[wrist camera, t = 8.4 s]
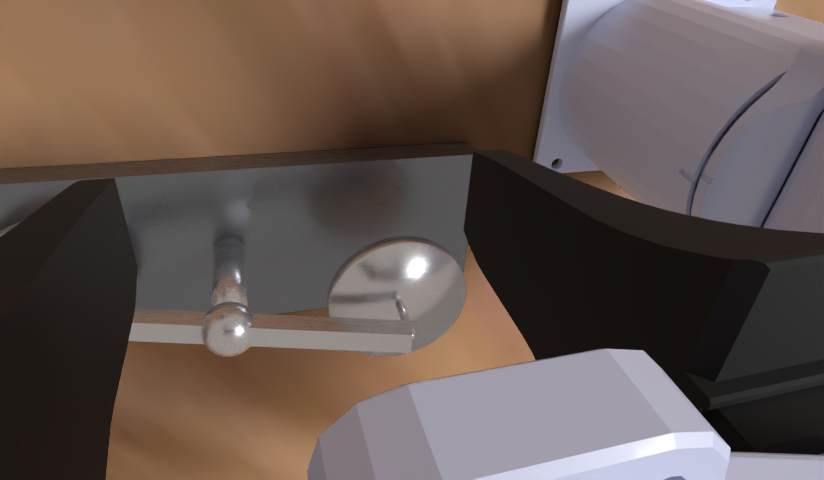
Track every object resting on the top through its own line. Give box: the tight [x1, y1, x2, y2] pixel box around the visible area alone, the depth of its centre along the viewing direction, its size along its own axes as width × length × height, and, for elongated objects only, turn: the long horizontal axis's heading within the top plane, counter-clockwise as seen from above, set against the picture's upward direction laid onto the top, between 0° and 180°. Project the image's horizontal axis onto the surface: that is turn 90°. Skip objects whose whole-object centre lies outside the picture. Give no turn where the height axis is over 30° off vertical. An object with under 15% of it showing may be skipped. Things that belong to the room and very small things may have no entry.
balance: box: [0, 142, 476, 357], centre depth 20 cm, size 20×7×8 cm, turn 87°
